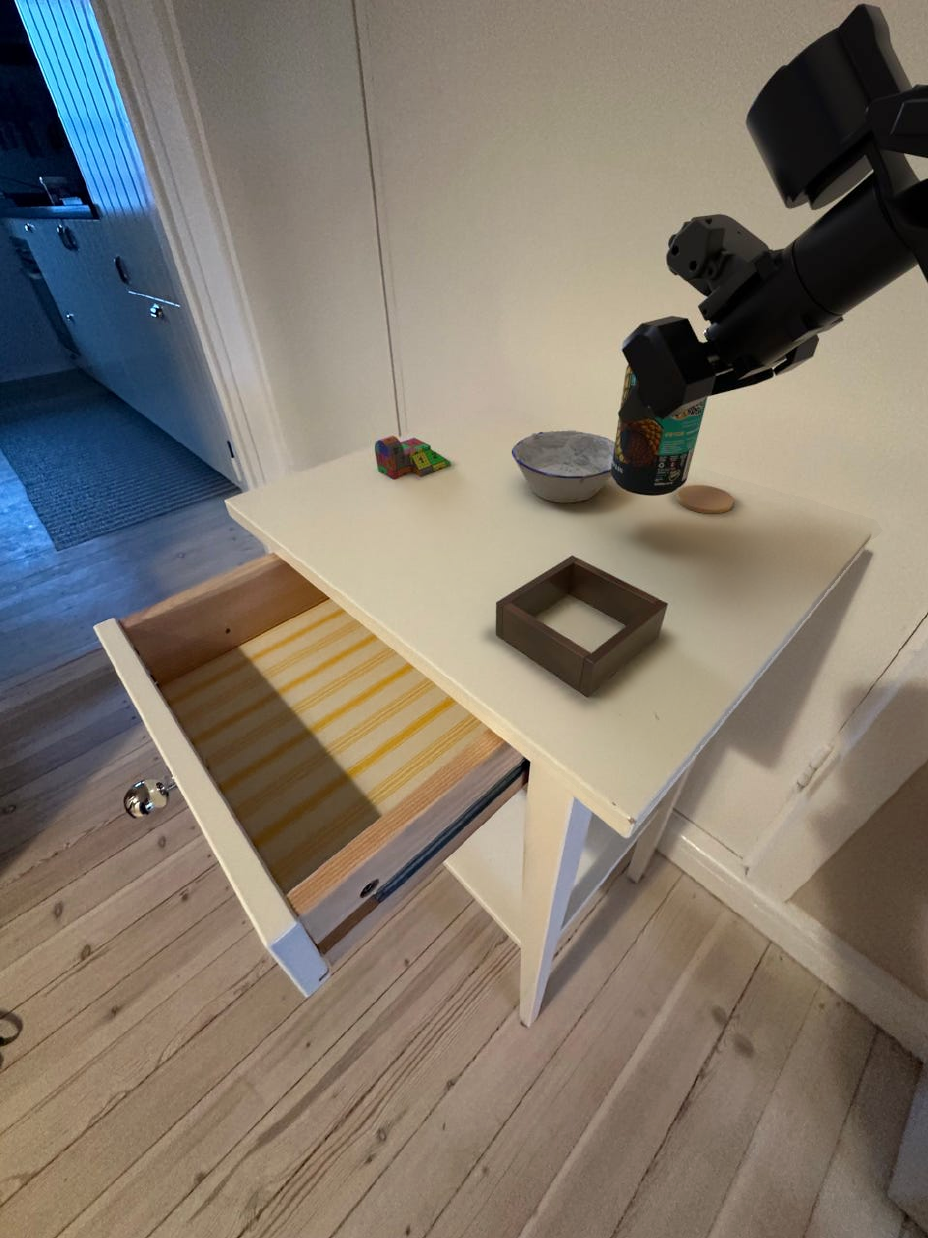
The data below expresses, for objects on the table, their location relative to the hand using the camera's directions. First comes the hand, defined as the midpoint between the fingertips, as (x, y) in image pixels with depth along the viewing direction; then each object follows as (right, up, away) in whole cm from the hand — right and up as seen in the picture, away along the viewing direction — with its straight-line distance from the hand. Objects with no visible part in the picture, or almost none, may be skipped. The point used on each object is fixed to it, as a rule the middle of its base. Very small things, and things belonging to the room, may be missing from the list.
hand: (648, 408), depth 48 cm
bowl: (-5, -3, +17) cm, 18 cm away
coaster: (+11, -5, +13) cm, 18 cm away
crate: (-7, -20, -4) cm, 22 cm away
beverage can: (+1, -6, +4) cm, 7 cm away
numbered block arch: (-23, +1, +22) cm, 32 cm away
